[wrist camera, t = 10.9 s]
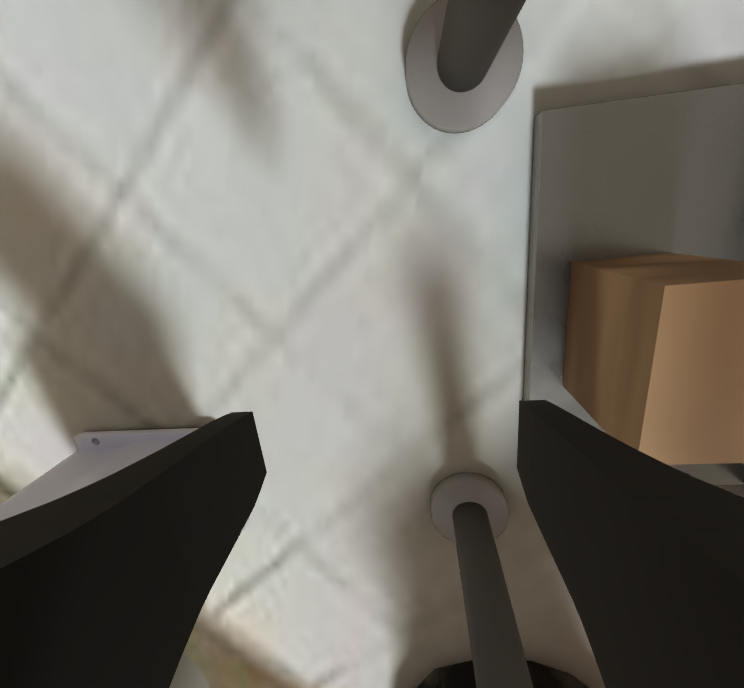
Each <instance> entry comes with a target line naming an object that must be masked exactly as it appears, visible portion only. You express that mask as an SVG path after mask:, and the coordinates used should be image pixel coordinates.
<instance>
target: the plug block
mask: <svg viewBox="0 0 744 688" xmlns="http://www.w3.org/2000/svg"><path fill="white" fill-rule="evenodd" d="M563 387H564V388H565V389H566V390H567V391H568V392H569V393H570V394H571V395H572V397H573V398H574V399H575V400H576V401H577V402H578V403H579V404H580V405H581V406H582V407H583V408H584V409H585V411H586V412H587V413H588V414H589V415H590V416H591V417H592V418H593V419H594V420H595V421H596V422H597V423H598V425H599V426H600V427H601V428H602V429H603V430H604V431H605V432H606V433H607V434H608V435H610V436H612V437H614V438H616V439H618V440H619V441H621V442H623V443H625V444H627V445H629V446H631V447H633V448H635V449H637V450H638V451H640V452H643V453H645V454H647V455H649V456H651V457H653V458H655V459H657V460H659V461H661V462H663V463H665V464H667V465H677V464H721V463H744V262H743V261H735V260H727V259H719V258H711V257H702V256H694V255H686V254H678V253H664V254H653V255H642V256H631V257H620V258H609V259H598V260H587V261H576V262H572V266H571V280H570V293H569V307H568V321H567V334H566V348H565V362H564V375H563Z"/></svg>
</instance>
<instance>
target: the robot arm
mask: <svg viewBox="0 0 744 688" xmlns="http://www.w3.org/2000/svg"><path fill="white" fill-rule="evenodd" d="M74 441H75V444H76V446H77V449H78V451H76V452H75V453H74V454H72V455H71V456H69V457H68V458H66V459H65V460H63V461H62V462H61V463H59V464H58V465H56V466H55V467H53V468H52V469H51V470H49V471H48V472H46V473H45V474H43V475H42V476H40V477H39V478H38V479H36V480H35V481H33V482H32V483H30V484H29V485H28V486H26V487H25V488H23V489H22V490H20V491H19V492H18V493H16V494H15V495H13V496H12V497H10V498H9V499H7V500H6V501H5V502H3V503H2V504H0V688H169V686H170V684H171V681H172V679H173V676H174V674H175V671H176V669H177V666H178V663H179V661H180V658H181V656H182V653H183V651H184V649H185V646H186V644H187V642H188V639H189V637H190V634H191V632H192V630H193V627H194V625H195V623H196V620H197V618H198V615H199V613H200V611H201V608H202V606H203V604H204V602H205V600H206V598H207V596H208V594H209V592H210V590H211V588H212V586H213V584H214V582H215V580H216V578H217V577H218V575H219V573H220V571H221V569H222V567H223V565H224V563H225V561H226V560H227V558H228V556H229V554H230V552H231V550H232V548H233V546H234V544H235V543H236V541H237V539H238V537H239V535H240V534H241V533H242V531H243V529H244V528H245V527H244V525H245V523H246V522H247V520H248V518H249V516H250V514H251V512H252V510H253V508H254V506H255V503H256V501H257V498H258V495H259V493H260V490H261V487H262V484H263V481H264V479H265V476H266V473H267V472H266V467H265V463H264V459H263V455H262V450H261V446H260V442H259V438H258V433H257V429H256V425H255V421H254V416H253V412H233V413H230V414H227V415H225V416H222V417H220V418H218V419H216V420H214V421H212V422H210V423H208V424H206V425H204V426H202V427H201V428H182V429H154V430H126V431H98V432H81V433H79V434H78V435H76V436H75V438H74ZM517 469H518V472H519V476H520V479H521V482H522V486H523V489H524V492H525V495H526V498H527V501H528V504H529V506H530V508H531V511H532V513H533V515H534V517H535V520H536V522H537V524H538V526H539V528H540V530H541V533H542V535H543V537H544V539H545V541H546V543H547V546H548V548H549V550H550V552H551V554H552V556H553V558H554V561H555V563H556V565H557V567H558V569H559V571H560V573H561V576H562V578H563V580H564V582H565V584H566V586H567V588H568V591H569V593H570V595H571V597H572V599H573V602H574V604H575V606H576V609H577V611H578V614H579V616H580V618H581V621H582V623H583V626H584V629H585V632H586V634H587V637H588V640H589V643H590V645H591V648H592V651H593V654H594V656H595V659H596V662H597V665H598V667H599V670H600V673H601V676H602V678H603V681H604V684H605V687H606V688H744V498H742V497H740V496H737V495H735V494H733V493H730V492H728V491H726V490H723V489H721V488H719V487H716V486H714V485H712V484H709V483H707V482H704V481H702V480H700V479H697V478H695V477H693V476H690V475H688V474H686V473H684V472H682V471H680V470H677V469H675V468H673V467H671V466H669V465H667V464H665V463H663V462H661V461H659V460H657V459H655V458H653V457H651V456H649V455H647V454H645V453H643V452H640V451H638V450H637V449H635V448H633V447H631V446H629V445H627V444H625V443H623V442H621V441H619V440H618V439H616V438H614V437H612V436H610V435H608V434H607V433H605V432H603V431H601V430H599V429H598V428H596V427H594V426H592V425H590V424H589V423H587V422H585V421H583V420H582V419H580V418H578V417H576V416H575V415H573V414H571V413H569V412H568V411H566V410H564V409H562V408H560V407H559V406H557V405H555V404H553V403H551V402H549V401H546V400H526V401H519V428H518V455H517Z"/></svg>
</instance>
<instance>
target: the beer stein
mask: <svg viewBox="0 0 744 688" xmlns="http://www.w3.org/2000/svg"><path fill="white" fill-rule="evenodd" d="M526 662H527V666H528V670H529V674H530V677H531V681H532V685H533V688H588V687H587V686H586V685H584V684H583V683H582V682H580V681H579V680H578V679H576V678H575V677H574V676H572V675H571V674H568V673H565V672H562V671H559V670H556V669H553V668H550V667H547V666H544V665H541V664H538V663H535V662H532V661H526ZM417 688H477V687H476V680H475V673H474V666H473V660H472V661H468V662H464V663H459V664H455V665H451V666H447V667H442V668H438V669H435V670H434V671H433V672H432V673H431V674H430V675H429V676H428V677H427V678H426V679H425V680H424V681H423V682H422V683H421V684H420V685H419V686H418V687H417Z"/></svg>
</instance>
